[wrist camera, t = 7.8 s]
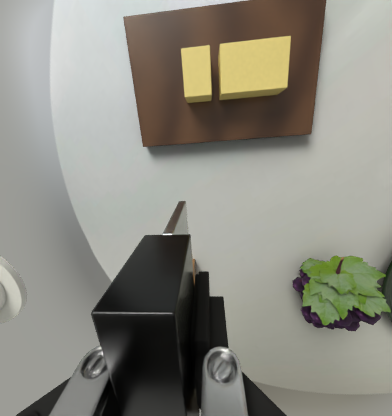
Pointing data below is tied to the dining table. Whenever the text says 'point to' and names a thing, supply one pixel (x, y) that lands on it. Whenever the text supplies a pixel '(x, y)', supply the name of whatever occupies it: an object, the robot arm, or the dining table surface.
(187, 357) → the knife
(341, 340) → the dining table surface
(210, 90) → the butter pat
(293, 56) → the butter board
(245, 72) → the butter
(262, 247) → the dining table surface
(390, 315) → the plate
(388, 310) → the fruit
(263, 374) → the dining table surface
